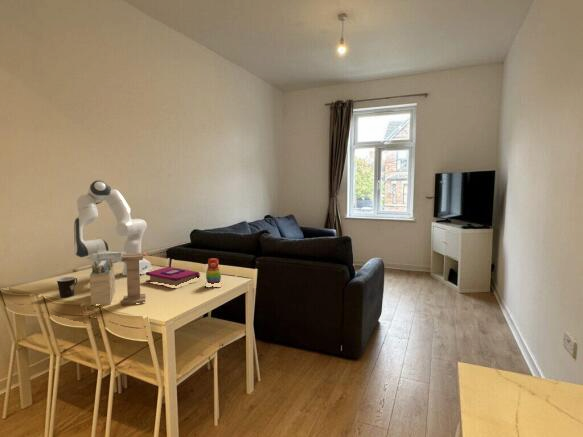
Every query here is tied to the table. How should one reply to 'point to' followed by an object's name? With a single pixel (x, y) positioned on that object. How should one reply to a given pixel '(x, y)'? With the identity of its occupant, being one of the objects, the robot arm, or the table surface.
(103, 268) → the remote
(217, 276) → the stacking bear
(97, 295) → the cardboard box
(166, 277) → the book
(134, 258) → the walnut stand
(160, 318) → the table surface
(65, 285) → the coffee mug
